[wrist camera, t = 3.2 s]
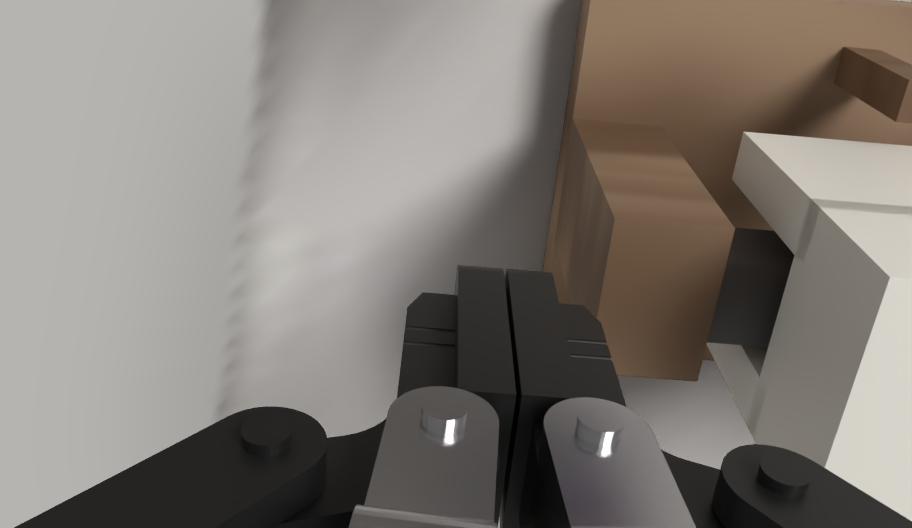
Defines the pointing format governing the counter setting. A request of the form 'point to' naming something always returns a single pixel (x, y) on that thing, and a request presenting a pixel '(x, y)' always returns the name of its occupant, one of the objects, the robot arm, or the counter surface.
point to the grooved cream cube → (834, 310)
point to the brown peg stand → (704, 158)
